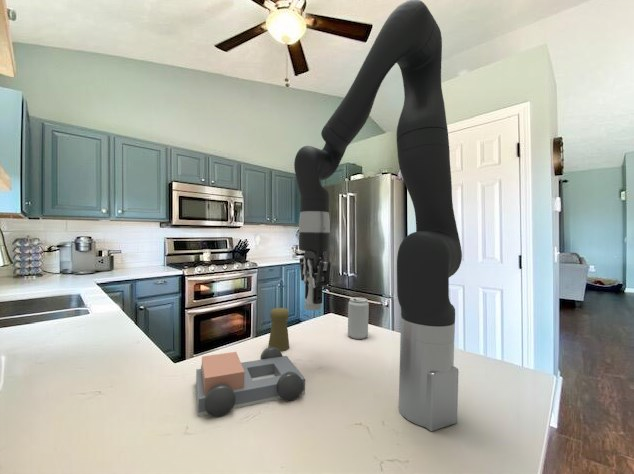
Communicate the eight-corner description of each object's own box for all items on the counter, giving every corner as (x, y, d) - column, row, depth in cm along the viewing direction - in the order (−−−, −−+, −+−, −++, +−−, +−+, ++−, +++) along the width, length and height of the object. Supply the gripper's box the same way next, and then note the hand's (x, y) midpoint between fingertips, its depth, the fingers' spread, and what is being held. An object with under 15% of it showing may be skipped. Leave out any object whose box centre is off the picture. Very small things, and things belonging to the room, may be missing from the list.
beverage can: (343, 334, 95) (344, 297, 95) (360, 332, 98) (361, 296, 98) (354, 341, 89) (355, 301, 89) (371, 338, 92) (372, 300, 92)
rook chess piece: (323, 306, 74) (323, 274, 74) (321, 310, 69) (322, 276, 69) (305, 305, 74) (305, 274, 74) (302, 310, 70) (303, 276, 70)
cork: (278, 353, 79) (279, 312, 79) (263, 347, 82) (264, 308, 82) (293, 347, 84) (294, 308, 83) (278, 341, 87) (279, 304, 87)
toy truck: (308, 397, 58) (308, 367, 58) (198, 421, 50) (199, 386, 50) (284, 365, 72) (284, 340, 72) (195, 380, 64) (196, 352, 64)
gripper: (342, 231, 67) (340, 306, 67) (316, 231, 80) (315, 295, 80) (311, 230, 64) (310, 309, 64) (290, 231, 77) (289, 296, 77)
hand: (313, 301), depth 72 cm, fingers closed on rook chess piece, 4 cm apart
